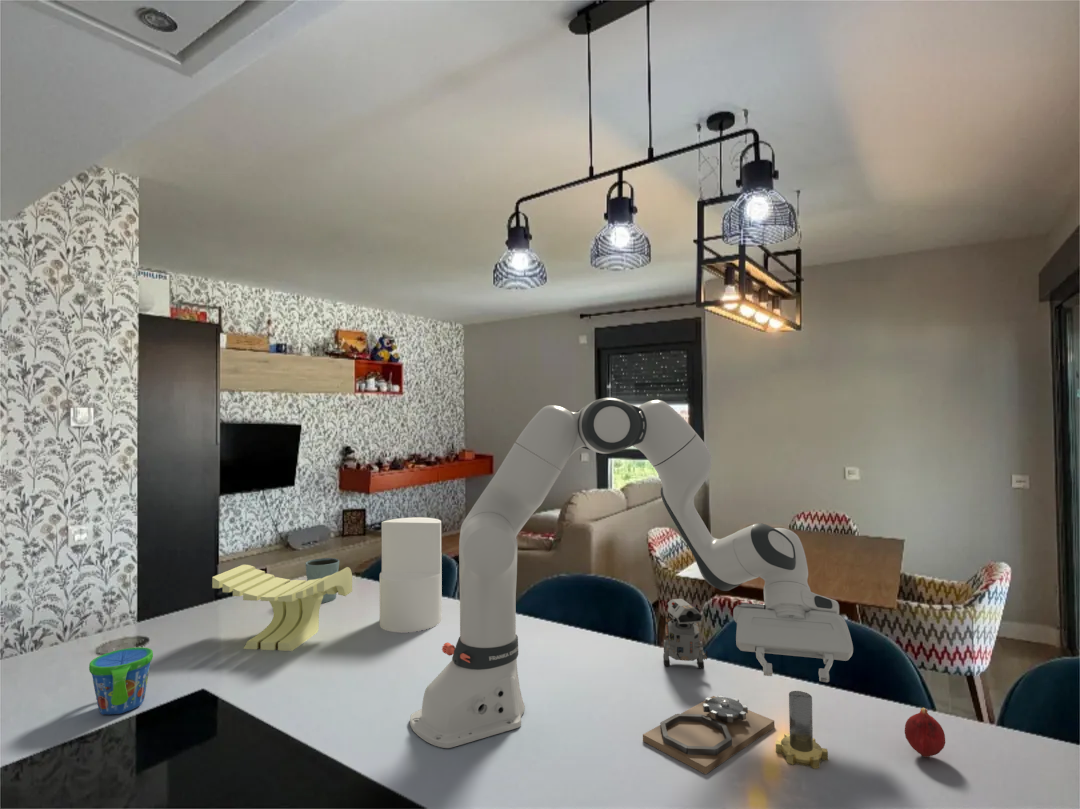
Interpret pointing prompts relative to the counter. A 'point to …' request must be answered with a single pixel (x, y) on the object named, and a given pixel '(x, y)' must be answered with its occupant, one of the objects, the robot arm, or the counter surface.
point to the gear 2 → (801, 734)
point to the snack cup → (121, 679)
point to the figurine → (683, 633)
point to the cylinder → (411, 574)
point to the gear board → (705, 737)
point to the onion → (924, 734)
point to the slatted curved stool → (284, 603)
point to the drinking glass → (322, 572)
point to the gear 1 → (725, 708)
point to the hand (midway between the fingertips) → (796, 677)
